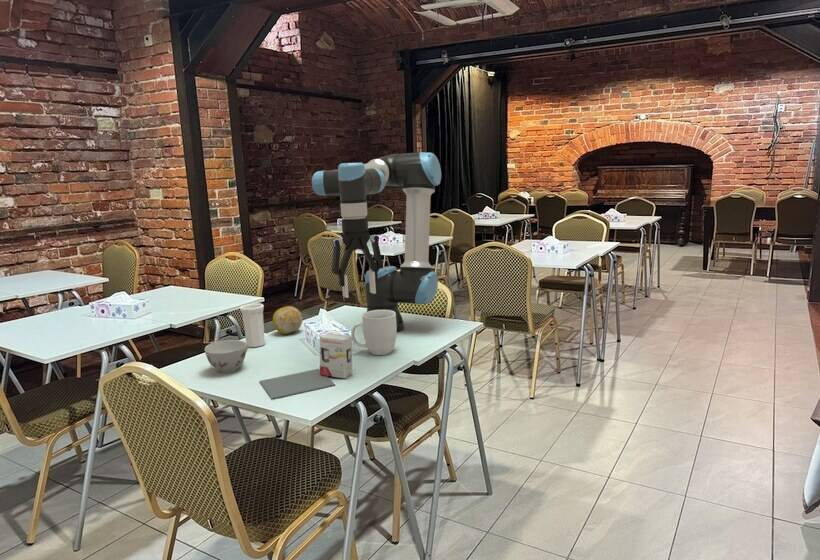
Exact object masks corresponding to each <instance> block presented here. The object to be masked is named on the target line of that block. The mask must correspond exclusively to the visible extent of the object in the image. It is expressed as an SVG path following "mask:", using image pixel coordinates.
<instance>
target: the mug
mask: <svg viewBox="0 0 820 560" xmlns="http://www.w3.org/2000/svg"><path fill="white" fill-rule="evenodd" d="M361 317H362V320H361V321H359V322H356V323H355V324H354V325H353V327H352V329H351V333H350V334H351V335H350V336H352V343H354V345H356V346H357V347H360V348H365V349H368V350H369V352H370V353H371V354H372V355H375V356H386V355H389V354H391V352H392V351H393V350H394V348H395V345H396V340H397V333H398V332H397V325H396V313H395V312H394V311H391V310H373V311H368V312H367V311H365V312H364V313H362V315H361ZM360 326H361V327H362V331H363V337H364V342H365V343H360V342H358V341H357V340H356V337H355V331H356V329H357V327H360Z"/></svg>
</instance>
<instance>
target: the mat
mask: <svg viewBox="0 0 820 560" xmlns="http://www.w3.org/2000/svg"><path fill="white" fill-rule="evenodd" d="M259 384H260V385H261V386H262V387H263V389H264V391H265V392H266V393H267V396H269V398H270V397H271V398H270V399H271V400H272V399H273V400H277V399H282V398H286V397H289V396H290V397H291V396H295V395H296V396H297V395H299V394H300V395H301V394H304V393H309V392H312V391H316V390H322V389H326V388H330V387H335V386H336V383H334V381H333V380H331V379H330V378H329V376H325V375H320V368H315V369H312V370H305V371H300V372H297V373H291V374H287V375H283V376H276V377H273V378H268V379H261V380H259ZM276 398H277V399H276Z"/></svg>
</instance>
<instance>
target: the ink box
mask: <svg viewBox="0 0 820 560" xmlns="http://www.w3.org/2000/svg"><path fill="white" fill-rule="evenodd" d="M352 369H353V340H352V336H351V335H347V334H339V333H334V332H327V333H325V334H324V335H323V334H322V335H321V336H319V370H320V375H325V376H327V377H332V378H339V379H346V378H347V377H349V376H351V375H352V374H353V370H352Z"/></svg>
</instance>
